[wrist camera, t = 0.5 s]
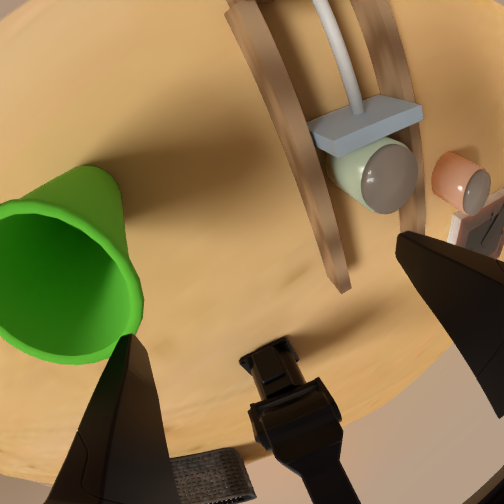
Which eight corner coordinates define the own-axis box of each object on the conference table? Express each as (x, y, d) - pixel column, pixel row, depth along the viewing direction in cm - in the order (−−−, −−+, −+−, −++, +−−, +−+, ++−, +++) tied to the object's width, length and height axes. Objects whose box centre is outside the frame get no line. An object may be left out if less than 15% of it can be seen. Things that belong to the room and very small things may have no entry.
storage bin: (232, 444, 53) (250, 495, 43) (244, 460, 65) (258, 499, 54) (119, 462, 48) (127, 511, 38) (151, 477, 60) (160, 515, 49)
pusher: (381, 107, 20) (423, 119, 16) (302, 139, 20) (338, 158, 16) (332, -33, 12) (372, -49, 8) (234, -17, 12) (257, -42, 8)
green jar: (382, 173, 25) (421, 197, 20) (333, 199, 25) (369, 228, 20) (371, 117, 21) (416, 133, 17) (316, 141, 21) (356, 161, 17)
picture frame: (510, 181, 34) (449, 211, 32) (520, 187, 32) (462, 220, 30) (492, 250, 44) (430, 293, 42) (500, 257, 42) (438, 303, 40)
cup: (172, 203, 20) (188, 308, 12) (91, 269, 21) (72, 383, 13) (95, 110, 15) (25, 147, 6) (16, 196, 16) (-55, 290, 7)
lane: (407, 227, 30) (428, 243, 27) (327, 276, 30) (344, 298, 27) (350, -25, 13) (378, -33, 10) (217, 0, 13) (229, -15, 10)
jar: (458, 185, 29) (488, 204, 25) (431, 203, 29) (463, 225, 25) (458, 145, 25) (492, 162, 21) (430, 161, 25) (467, 181, 21)
